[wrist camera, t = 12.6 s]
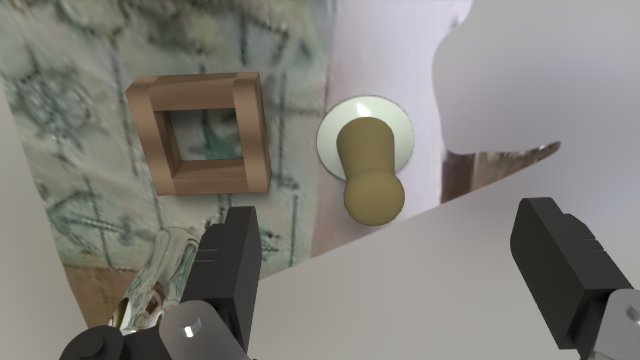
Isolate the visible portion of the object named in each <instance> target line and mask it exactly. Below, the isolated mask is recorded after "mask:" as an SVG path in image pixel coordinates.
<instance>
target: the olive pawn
mask: <svg viewBox="0 0 640 360" xmlns="http://www.w3.org/2000/svg"><path fill="white" fill-rule="evenodd" d="M336 146H337V152H338V155H339V158H340V161H341V164H342V168H343V171H344V174H345V177H346V180H347V184H346V187H345V190H344V205H345V207H346V209H347V211H348V213H349V215H350V216H351V217H352V218H353V219H355V220H356V221H357V222H359V223H362V224H364V225H368V226H381V225H384V224H387V223H389V222H390V221H392V220H393V219H395V218H396V216H397V215H398V214H399V213H400V212H401V210H402V208H403V205H404V200H405V192H404V189H403V186H402V184H401V182H400V180H399V179H398V178H397V177H396V176H395V142H394V134H393V132H392V129H391V128H390V127H389V126H388V125H387V123H386V122H384V121H382V120H380V119H378V118H374V117H369V116H368V117H359V118H356V119H354V120H351V121H349V122H348V123H347V124H346V125H344V126H343V127H342V129H341V130H340V132H339V133H338V136H337V140H336Z"/></svg>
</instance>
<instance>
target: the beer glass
mask: <svg viewBox="0 0 640 360" xmlns="http://www.w3.org/2000/svg"><path fill="white" fill-rule="evenodd" d="M199 243H200V241H199V239H198V238H197V237H196V236H195V235H194V234H193V233H191V232H189V231H187V230H185V229H182V228H177V227H168V228H164V229H161V230H159V231H158V232H157V233H156V234H155V235H154V236H153V238H152V242H151V246H150V252H149V255H148V258H147V260H146V261H145V263H144V265H143V266H142V267H141V269H140V270H139V271H138V273H137V274H136V275H135V277H134V278H133V279H132V281H131V282H130V283H129V285H128V286H127V288H126V289H125V291H124V292H123V294H122V295H121V297H120V299H119V301H118V303H117V305H116V307H115V309H114V311H113V314H112V316H111V318H110V321H109V324H108V326H113V327H116V328H117V329H119V330H120V331H121V332H122V334H123V336H124V335H127V334H131V333H134V332H137V331H141V330H144V329H147V328H150V327H153V326H155V325H157V324H159V323H160V322H161V320H162V319H163V317H164V316H165V314H166V313H167V312H168V311H169V310H171V309H172V308H173V307H175V306H176V305H178V304H179V303H180V300H181V297H182V294H183V291H184V288H185V285H186V282H187V279H188V276H189V273H190V270H191V267H192V264H193V262H194V258H195V255H196V252H198V246H199Z"/></svg>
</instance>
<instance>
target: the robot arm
mask: <svg viewBox="0 0 640 360" xmlns="http://www.w3.org/2000/svg"><path fill="white" fill-rule="evenodd" d="M510 247H511V253H512V256H513V258H514V260H515V262H516V264H517V266H518V268H519V270H520V272H521V274H522V276H523V278H524V280H525V282H526V284H527V286H528V288H529V290H530V292H531V294H532V296H533V298H534V300H535V302H536V303H537V306H538V308H539V310H540V312H541V314H542V316H543V318H544V320H545V322H546V324H547V326H548V328H549V330H550V332H551V334H552V336H553V338H554V340H555V342H556V344H557V346H558V348H559V349H577V351H578V353H579V355H580V359H579V360H640V291H639V290H635V289H634V288H633V287H632V286H631V284H630V283H629V281H628V280H627V279H626V277H625V276H624V275H623V273H622V272H621V271H620V270H619V268H618V267H617V265H616V264H615V263H614V262H613V260H612V259H611V258H610V256H609V255H608V254H607V252H606V251H604V250H603V249H604V248H603V247H602V246H601V244H600V243H599V242H598V241H597V240H595V236H594V235H593V234H592V232H591V231H590V230H589V229H588V227H587V226H586V225H585V224H584V223H582V222H581V221H580V220H578V219H577V218H575V217H574V216H573V215H571V214H563V213H562V211H561V210H560V208H559V207H558V206H557V204H556V203H555V201H554V200H553V199H552V198H550V197H540V198H523V199H522V200H521V201H520V204H519V207H518V211H517V215H516V219H515V222H514V226H513V230H512V234H511V238H510ZM261 258H262V250H261V240H260V234H259V228H258V222H257V215H256V210H255V207H254V206H242V207H230V208H229V209H228V213H227V216H226V220H225V224H212V225H211V226H210V228H209V229H208V230H207V231H206V232H205V233H204V234H203V235H202V237H201V240H200V243H199V246H198V252H196V255H195V258H194V262H193V264H192V267H191V270H190V273H189V276H188V279H187V282H186V285H185V288H184V291H183V294H182V297H181V300H180V303H179V304H178V305H176V306H175V307H173V308H172V309H171V310H169V311H168V312H167V313H166V314H165V316H164V317H163V319H162V320H161V322H160V323H159V324H157V325H155V326H153V327H150V328H147V329H144V330H141V331H137V332H134V333H131V334H127V335H124V336H123V334H122V332H121V331H120V330H119V329H117V328H116V327H113V326H108V325H103V326H97V327H93V328H90V329H88V330H86V331H84V332H82V333H81V334H79V335H77V336H76V337H75V338H74V339H73V340H72V341H71V342H70V343H69V344H68V345H67V346H66V348H65V349H64V351H63V353H62V355H61V357H60V359H59V360H251V359H250V358H249V357H248V356H247V350H248V344H249V337H250V331H251V324H252V318H253V312H254V305H255V299H256V293H257V286H258V280H259V273H260V267H261ZM253 360H256V359H253Z"/></svg>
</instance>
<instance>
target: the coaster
mask: <svg viewBox="0 0 640 360" xmlns="http://www.w3.org/2000/svg"><path fill="white" fill-rule="evenodd" d="M368 116H369V117H374V118H378V119H380V120H382V121H384V122H386V123H387V125H388V126H389V127H390V128H391V129H392V132H393V134H394V142H395V173H396V172H397V171H398V170H400V169H401V168H402V167H403V166H404V164H405V163H406V162H407V160H408V159H409V157H410V155H411V153H412V150H413V146H414V130H413V127H412V124H411V121H410V119H409V117H408V116H407V114H406V113H405V111H404V110H403V109H402V108H401V107H400V106H399V105H397V104H396V103H394V102H393V101H391V100H389V99H386V98H383V97H380V96H374V95H362V96H356V97H352V98H349V99H346V100H344V101H342V102H340V103H339V104H337V105H336V106H334V107H333V108H332V109H331V110H330V111H329V112H328V113H327V114H326V115H325V117H324V118H323V120H322V122H321V124H320V126H319V130H318V135H317V148H318V153H319V156H320V159H321V161H322V162H323V164H324V165H325V167H326V168H327V169H328V170H329V171H330V172H331V173H333V174H334V175H336V176H337V177H339V178H341V179H343V180H346V177H345V174H344V171H343V168H342V164H341V161H340V158H339V155H338V152H337V146H336V140H337V136H338V133H339V132H340V130H341V129H342V127H343V126H344V125H346V124H347V123H348V122H349V121H351V120H354V119H356V118H359V117H368ZM346 181H347V180H346Z"/></svg>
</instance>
